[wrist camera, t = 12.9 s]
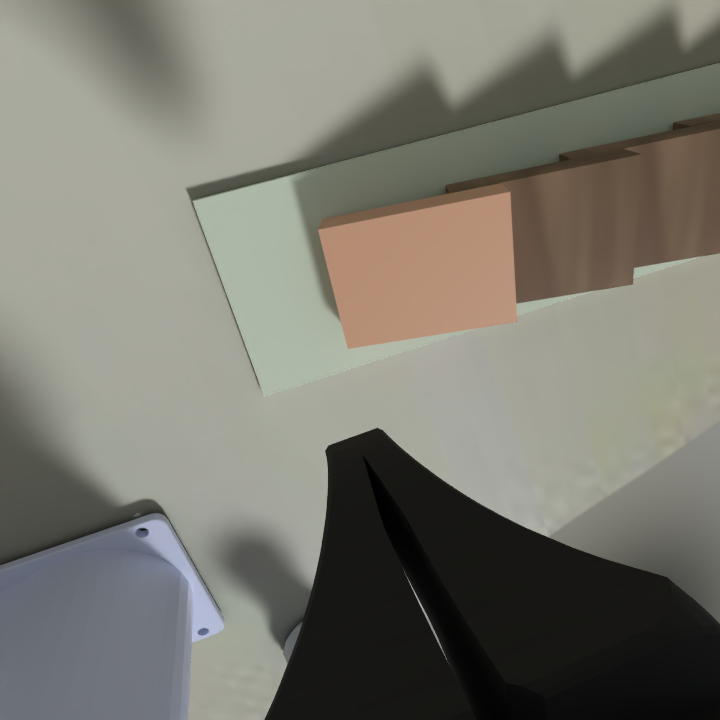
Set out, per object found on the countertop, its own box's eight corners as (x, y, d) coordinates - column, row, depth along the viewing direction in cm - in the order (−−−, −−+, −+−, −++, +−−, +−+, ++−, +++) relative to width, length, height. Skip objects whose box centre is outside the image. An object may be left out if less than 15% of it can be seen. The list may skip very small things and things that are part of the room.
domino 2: (571, 278, 19) (739, 249, 18) (571, 159, 17) (763, 119, 16) (559, 266, 20) (717, 238, 19) (559, 153, 18) (736, 117, 17)
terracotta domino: (347, 348, 18) (517, 321, 17) (317, 229, 16) (510, 191, 15) (350, 331, 19) (508, 305, 18) (323, 218, 17) (500, 183, 16)
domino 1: (463, 312, 18) (632, 284, 17) (450, 192, 16) (642, 154, 15) (458, 297, 19) (616, 270, 19) (445, 184, 17) (623, 148, 16)
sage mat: (263, 392, 19) (264, 396, 19) (192, 199, 16) (192, 201, 15) (767, 232, 22) (773, 233, 22) (806, 39, 19) (815, 38, 19)
